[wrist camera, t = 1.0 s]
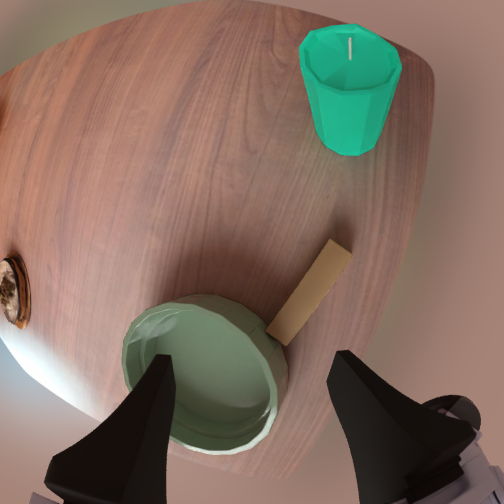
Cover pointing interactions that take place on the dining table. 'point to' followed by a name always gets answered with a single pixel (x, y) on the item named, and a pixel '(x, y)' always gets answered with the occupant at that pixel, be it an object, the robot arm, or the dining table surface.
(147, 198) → the dining table surface
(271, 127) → the dining table surface
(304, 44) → the candle
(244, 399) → the mixing bowl
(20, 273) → the brown mottled round dish
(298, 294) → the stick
